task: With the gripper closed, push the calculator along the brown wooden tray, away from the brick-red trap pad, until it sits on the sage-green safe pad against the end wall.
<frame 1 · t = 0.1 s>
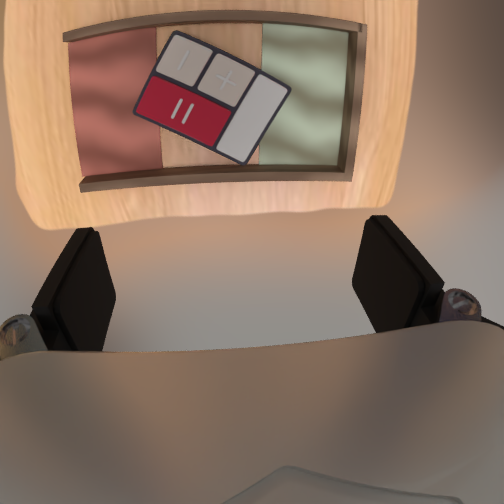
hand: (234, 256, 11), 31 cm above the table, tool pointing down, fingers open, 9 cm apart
brown wooden tray: (211, 94, 35), on the table
calculator: (211, 94, 35), on the table, touching brown wooden tray
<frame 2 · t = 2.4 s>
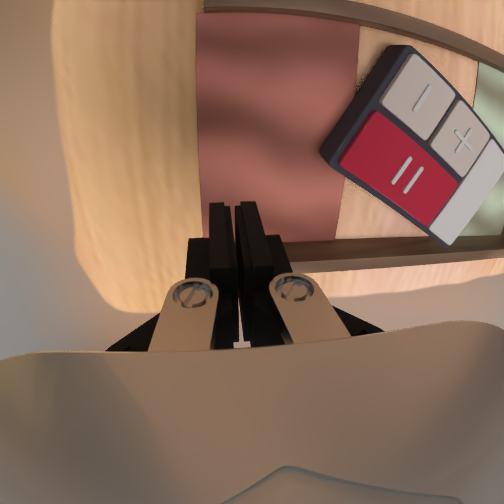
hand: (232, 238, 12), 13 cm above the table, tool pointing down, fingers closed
brown wooden tray: (416, 146, 24), on the table
calculator: (415, 145, 24), on the table, touching brown wooden tray
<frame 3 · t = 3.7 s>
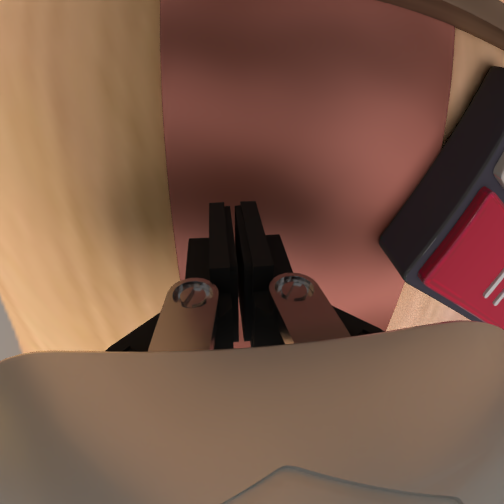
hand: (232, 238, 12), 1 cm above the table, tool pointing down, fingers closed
brown wooden tray: (502, 217, 15), on the table
calculator: (500, 217, 15), on the table, touching brown wooden tray
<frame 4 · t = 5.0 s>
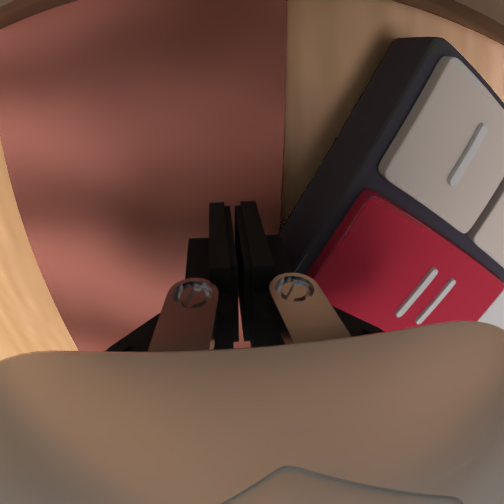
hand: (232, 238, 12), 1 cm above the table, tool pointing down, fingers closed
brown wooden tray: (413, 210, 14), on the table
calculator: (440, 216, 14), on the table, touching gripper
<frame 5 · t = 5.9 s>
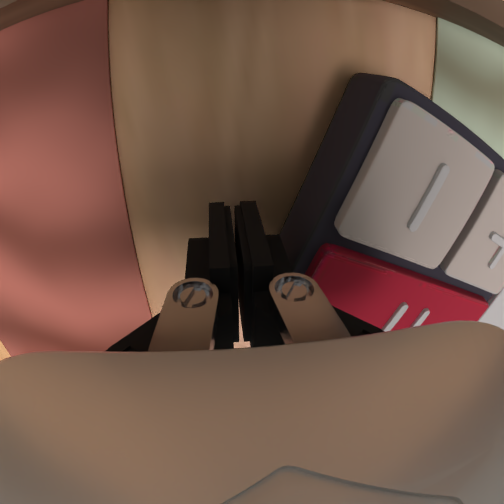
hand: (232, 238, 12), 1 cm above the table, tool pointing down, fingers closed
brown wooden tray: (287, 216, 13), on the table
calculator: (422, 238, 15), on the table, touching brown wooden tray
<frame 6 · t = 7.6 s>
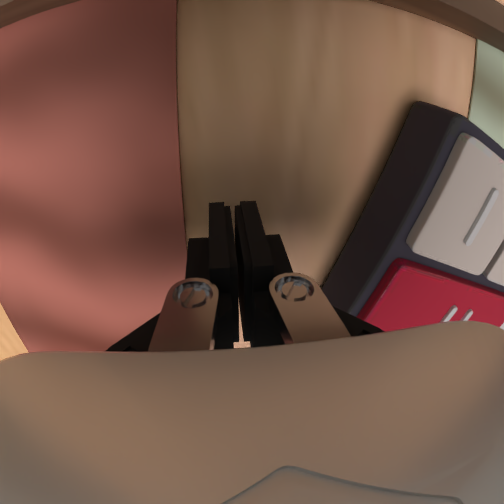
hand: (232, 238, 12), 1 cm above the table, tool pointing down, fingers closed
brown wooden tray: (339, 218, 14), on the table
calculator: (459, 245, 15), on the table, touching brown wooden tray
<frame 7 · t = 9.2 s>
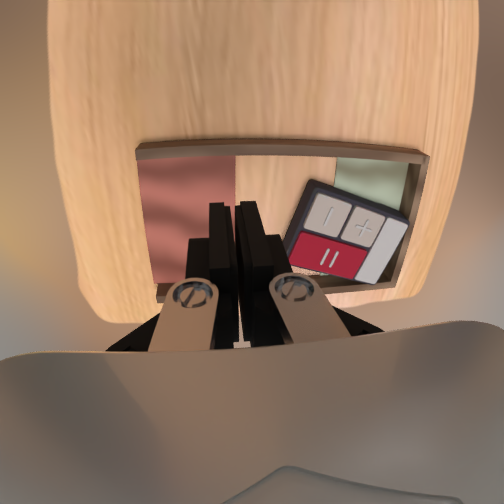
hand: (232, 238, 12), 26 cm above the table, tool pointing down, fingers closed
brown wooden tray: (285, 219, 42), on the table
calculator: (341, 229, 44), on the table, touching brown wooden tray
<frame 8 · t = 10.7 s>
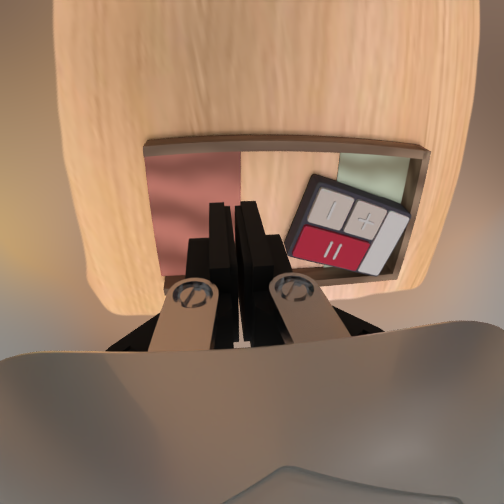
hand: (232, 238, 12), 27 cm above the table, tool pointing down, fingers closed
brown wooden tray: (289, 212, 42), on the table
calculator: (344, 222, 44), on the table, touching brown wooden tray
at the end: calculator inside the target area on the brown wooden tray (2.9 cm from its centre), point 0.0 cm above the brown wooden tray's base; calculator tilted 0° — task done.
